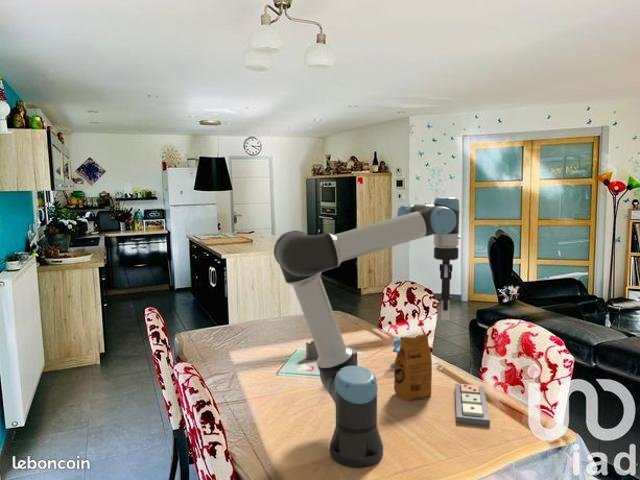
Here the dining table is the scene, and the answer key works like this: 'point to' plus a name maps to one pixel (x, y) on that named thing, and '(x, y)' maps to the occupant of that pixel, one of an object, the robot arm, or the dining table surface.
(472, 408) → the tile one
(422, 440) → the dining table surface
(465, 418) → the tile tray
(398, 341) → the chair
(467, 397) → the tile two
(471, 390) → the tile three
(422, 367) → the coffee package
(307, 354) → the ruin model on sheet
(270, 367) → the dining table surface
